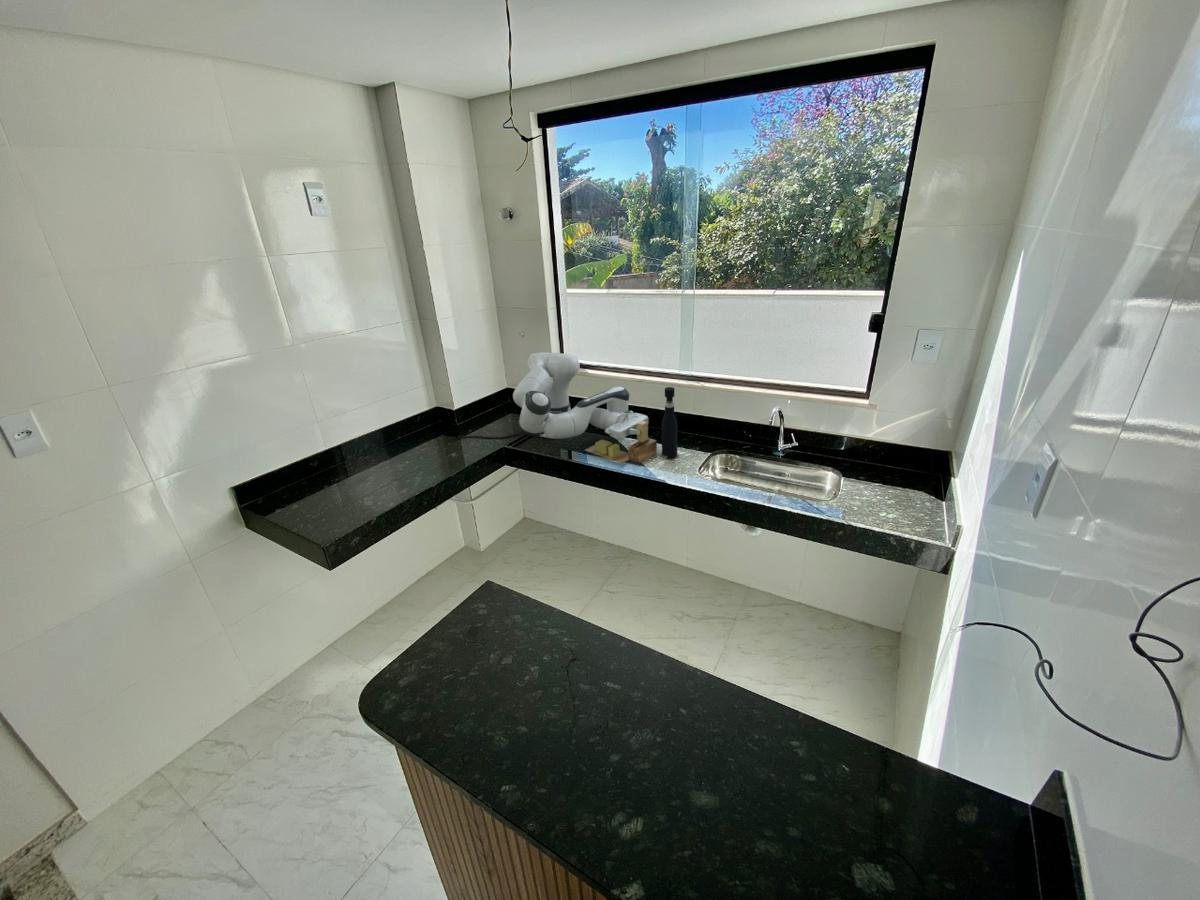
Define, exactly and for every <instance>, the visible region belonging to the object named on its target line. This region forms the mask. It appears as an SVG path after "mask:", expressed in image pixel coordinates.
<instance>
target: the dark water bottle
mask: <svg viewBox="0 0 1200 900" xmlns="http://www.w3.org/2000/svg"><path fill="white" fill-rule="evenodd" d="M664 397H665V398H666V399H665V404H664V405H665V406H664V414H663V417H662V421H661V455H662V456H664V457H665V458H666V459H667V460H671V459H675V458H677V457H678V421H677V417H676V414H675V405H674V403H675V402H674V399H673V398H674V397H675V387H671V386H667V387H665V388H664Z"/></svg>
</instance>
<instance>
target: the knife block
mask: <svg viewBox="0 0 1200 900" xmlns="http://www.w3.org/2000/svg"><path fill="white" fill-rule="evenodd" d="M638 442H639V441H636V442H634V443H632V444H631V445H629V446H628V447H627V453H628V459H629V460H628V461H632V462H634V463H637V464H641V463H643V462H645V461H646V460H648V459H649V458H651V457H653V456H654V455H656V454H657V452H658V443H657V442H658V441H657V440H656V439H653V438H650V437H649V441H648V442H646V443H644V444H643V445H641V446H639V447H637V448H636V443H638Z"/></svg>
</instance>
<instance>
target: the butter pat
mask: <svg viewBox="0 0 1200 900" xmlns="http://www.w3.org/2000/svg"><path fill="white" fill-rule="evenodd" d="M608 451H609V456H612V457H614V456H616V455H617V454H619V453H620V451H621V449H620V444H618V443H614V444H613V443H612V445H611V446H610V447H608Z"/></svg>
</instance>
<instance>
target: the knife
mask: <svg viewBox="0 0 1200 900" xmlns="http://www.w3.org/2000/svg"><path fill="white" fill-rule="evenodd" d="M637 429H639V430H641V434H640V435H637V434H636V442H638V441H639V442H638V443H636V442H635V443H636V448H637V447H639V446H641V445H643V444H644V443H646V442H648V441H649V438H650V437H649V421H648V422H646V421H642V420H641V421H639V422H637Z"/></svg>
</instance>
